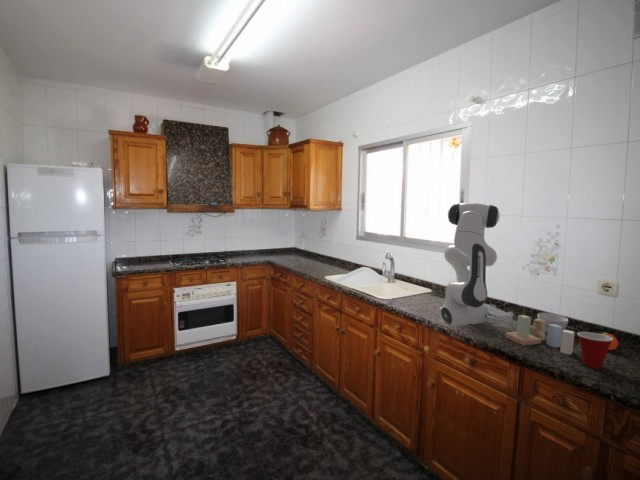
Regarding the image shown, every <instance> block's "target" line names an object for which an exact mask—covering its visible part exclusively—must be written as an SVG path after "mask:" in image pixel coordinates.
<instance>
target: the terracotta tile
mask: <svg viewBox="0 0 640 480" xmlns="http://www.w3.org/2000/svg"><path fill="white" fill-rule="evenodd" d="M516 334H517V331H511V332H510V331H509V332H504V337H505V338H506V339H509V340H511V341H512V342H515V343H517V344H519V345H521V346H531V345H538V344H539V345H540V344H542V341H541V339H540V338H537V337H535V336H533V335H532V334H530V333H529V337H524V338H523V337H520V336H518V335H516Z"/></svg>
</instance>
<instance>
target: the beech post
mask: <svg viewBox="0 0 640 480" xmlns="http://www.w3.org/2000/svg"><path fill="white" fill-rule="evenodd" d="M545 327H546V321H544V320H541V319H538V318H535V319H533V325H532V334H531V335H533V336H535V337H537V338H540V339H541V342H543V341H545V338H546V336H545V335H546V332H545Z"/></svg>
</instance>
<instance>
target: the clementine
mask: <svg viewBox="0 0 640 480" xmlns="http://www.w3.org/2000/svg"><path fill="white" fill-rule="evenodd" d="M598 334H603V335H607V336H610V337H612V338H613V340H612V342H611V344H610V346H609V349H608V351H613V350H615V349H617V347H618V345H619V342H618V339H617V337H615V336H614V335H613V334H611V333H608V332H600V333H598Z"/></svg>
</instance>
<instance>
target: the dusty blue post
mask: <svg viewBox="0 0 640 480" xmlns="http://www.w3.org/2000/svg"><path fill="white" fill-rule="evenodd" d="M546 335H547V336H546V345H548V346H550V347H551V348H560V347H561V338H562V327H561V326H559V325H557V324H548V333H547V334H546Z"/></svg>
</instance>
